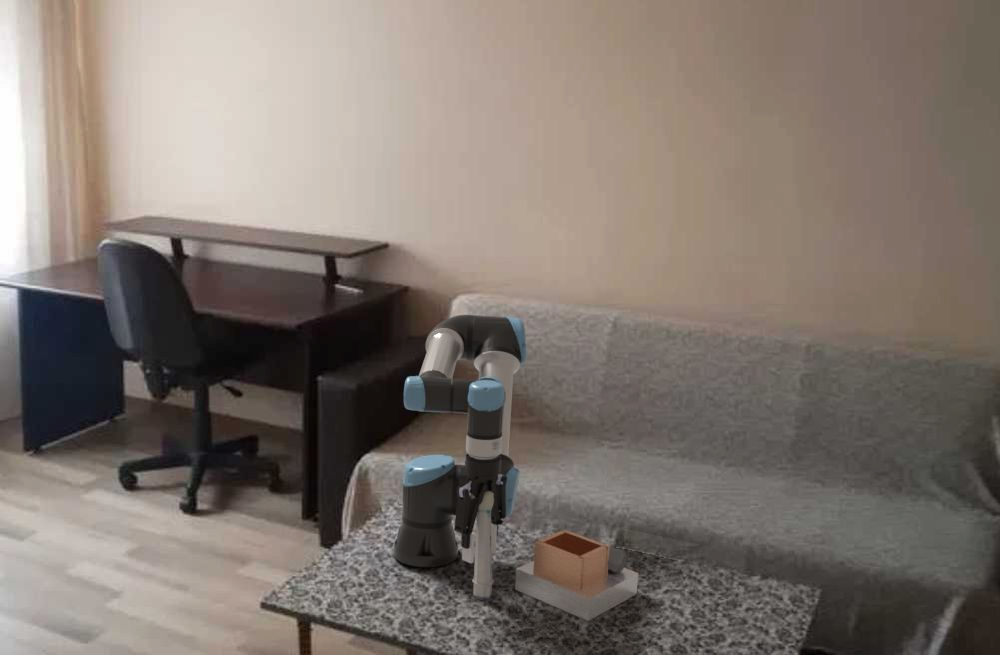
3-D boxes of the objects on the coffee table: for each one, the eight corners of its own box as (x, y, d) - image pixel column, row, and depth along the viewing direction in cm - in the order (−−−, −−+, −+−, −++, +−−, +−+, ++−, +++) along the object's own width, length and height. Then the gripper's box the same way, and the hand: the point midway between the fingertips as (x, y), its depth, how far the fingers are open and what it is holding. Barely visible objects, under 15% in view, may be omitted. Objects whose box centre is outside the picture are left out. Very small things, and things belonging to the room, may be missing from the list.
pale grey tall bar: (487, 602, 219) (492, 491, 215) (458, 597, 221) (463, 487, 217) (495, 592, 224) (500, 484, 219) (467, 587, 226) (471, 479, 221)
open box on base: (515, 589, 226) (517, 538, 224) (565, 565, 240) (568, 517, 237) (588, 621, 213) (591, 567, 211) (636, 594, 227) (640, 543, 224)
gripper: (465, 468, 207) (460, 575, 212) (526, 449, 221) (521, 549, 226) (438, 459, 212) (434, 563, 216) (500, 440, 226) (495, 539, 231)
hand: (479, 556), depth 221 cm, fingers open, 6 cm apart
